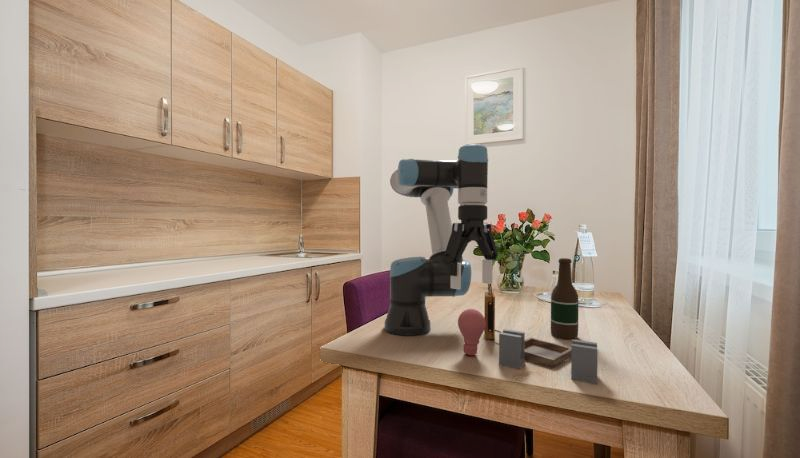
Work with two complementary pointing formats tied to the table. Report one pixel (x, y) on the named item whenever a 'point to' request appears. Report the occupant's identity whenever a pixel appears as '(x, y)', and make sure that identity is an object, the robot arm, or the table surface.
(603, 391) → the table surface
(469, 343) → the light bulb
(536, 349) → the shallow rectangular tray
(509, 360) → the grey block
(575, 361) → the grey flat block
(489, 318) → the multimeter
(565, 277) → the beer bottle
